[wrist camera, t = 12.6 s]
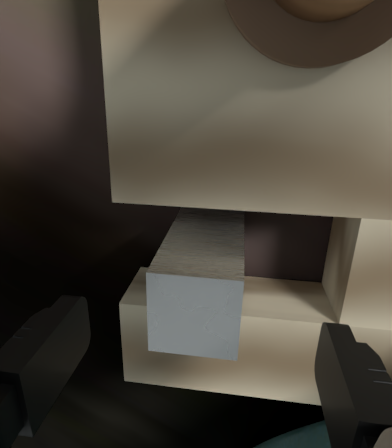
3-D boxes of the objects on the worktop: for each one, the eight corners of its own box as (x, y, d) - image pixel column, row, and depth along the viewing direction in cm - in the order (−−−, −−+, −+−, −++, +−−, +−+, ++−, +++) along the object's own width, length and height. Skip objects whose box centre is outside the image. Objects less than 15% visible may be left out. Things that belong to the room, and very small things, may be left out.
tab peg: (182, 259, 21) (148, 350, 13) (182, 204, 20) (145, 272, 12) (239, 264, 20) (237, 360, 13) (244, 208, 19) (244, 281, 12)
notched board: (120, -254, 13) (71, -390, 9) (582, -298, 11) (747, -487, 8) (143, 335, 23) (124, 380, 20) (390, 362, 21) (420, 418, 18)
